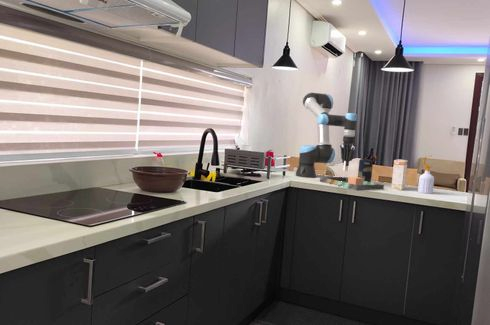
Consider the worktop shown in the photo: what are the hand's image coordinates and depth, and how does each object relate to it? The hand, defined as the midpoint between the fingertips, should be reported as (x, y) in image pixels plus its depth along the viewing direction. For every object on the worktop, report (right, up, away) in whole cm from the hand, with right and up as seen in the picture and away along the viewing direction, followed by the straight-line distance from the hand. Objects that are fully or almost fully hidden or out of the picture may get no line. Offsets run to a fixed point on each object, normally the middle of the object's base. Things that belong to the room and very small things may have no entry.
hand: (345, 170), depth 294 cm
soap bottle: (+49, -14, -12) cm, 53 cm away
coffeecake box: (+35, -12, -3) cm, 37 cm away
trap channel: (+3, -10, -5) cm, 11 cm away
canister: (+17, -9, +16) cm, 25 cm away
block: (+5, -10, -8) cm, 14 cm away
